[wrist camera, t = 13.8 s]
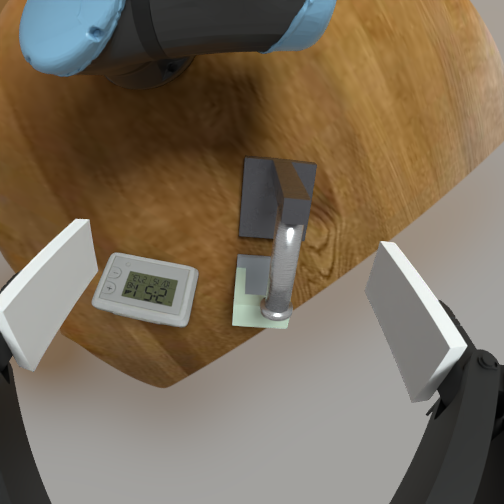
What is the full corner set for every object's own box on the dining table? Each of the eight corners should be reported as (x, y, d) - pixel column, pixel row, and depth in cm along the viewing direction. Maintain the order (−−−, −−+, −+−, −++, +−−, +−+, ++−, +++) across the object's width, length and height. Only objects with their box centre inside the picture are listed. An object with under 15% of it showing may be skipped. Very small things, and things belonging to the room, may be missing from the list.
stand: (238, 244, 49) (231, 322, 33) (245, 154, 42) (240, 194, 26) (300, 249, 49) (320, 326, 33) (315, 161, 42) (351, 205, 26)
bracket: (235, 287, 52) (232, 325, 43) (236, 267, 50) (233, 304, 41) (282, 290, 52) (287, 328, 44) (285, 270, 50) (291, 307, 42)
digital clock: (204, 267, 51) (194, 308, 42) (189, 305, 55) (179, 347, 46) (116, 234, 48) (89, 267, 39) (108, 275, 52) (85, 311, 43)
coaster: (235, 293, 53) (234, 296, 53) (237, 254, 49) (237, 256, 49) (280, 296, 54) (280, 299, 53) (287, 257, 50) (287, 260, 49)
